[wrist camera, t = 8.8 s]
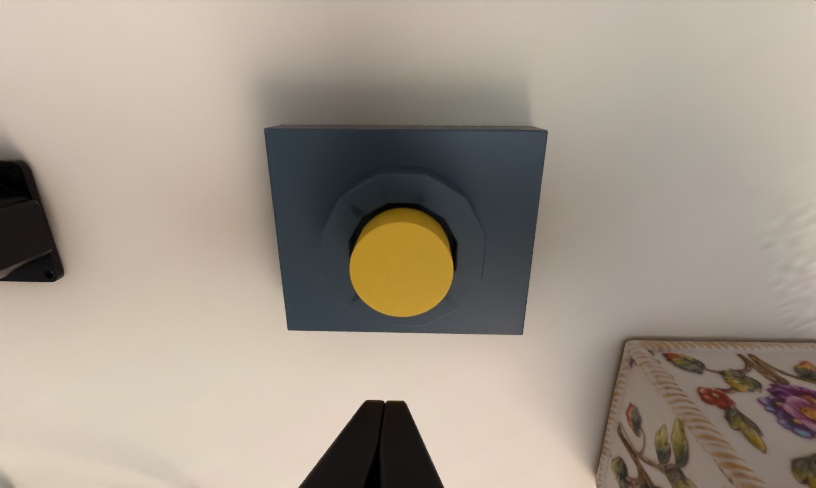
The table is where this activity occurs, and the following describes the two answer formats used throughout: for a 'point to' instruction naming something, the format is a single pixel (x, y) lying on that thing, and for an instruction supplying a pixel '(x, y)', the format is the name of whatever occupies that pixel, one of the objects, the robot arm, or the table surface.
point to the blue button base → (410, 188)
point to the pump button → (402, 263)
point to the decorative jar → (712, 416)
